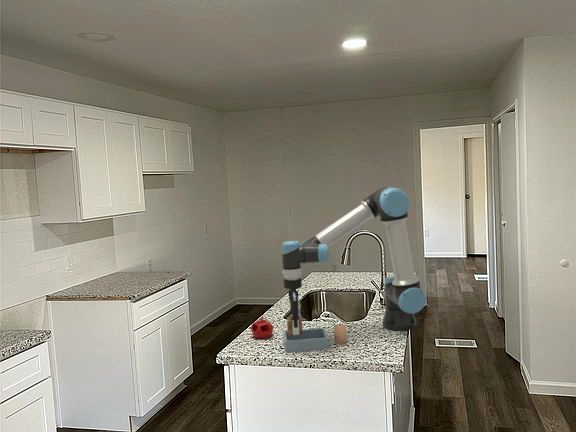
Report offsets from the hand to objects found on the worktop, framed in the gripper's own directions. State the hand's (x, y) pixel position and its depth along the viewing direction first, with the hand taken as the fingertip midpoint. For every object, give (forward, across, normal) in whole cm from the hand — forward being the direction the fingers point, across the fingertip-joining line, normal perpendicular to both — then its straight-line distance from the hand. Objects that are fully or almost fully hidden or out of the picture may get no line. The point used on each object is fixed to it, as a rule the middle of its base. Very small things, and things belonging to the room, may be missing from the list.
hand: (295, 331), depth 217 cm
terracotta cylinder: (+6, 0, +19) cm, 20 cm away
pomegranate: (+6, -16, -14) cm, 22 cm away
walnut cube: (0, 0, 0) cm, 0 cm away
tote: (+6, 0, +4) cm, 7 cm away
